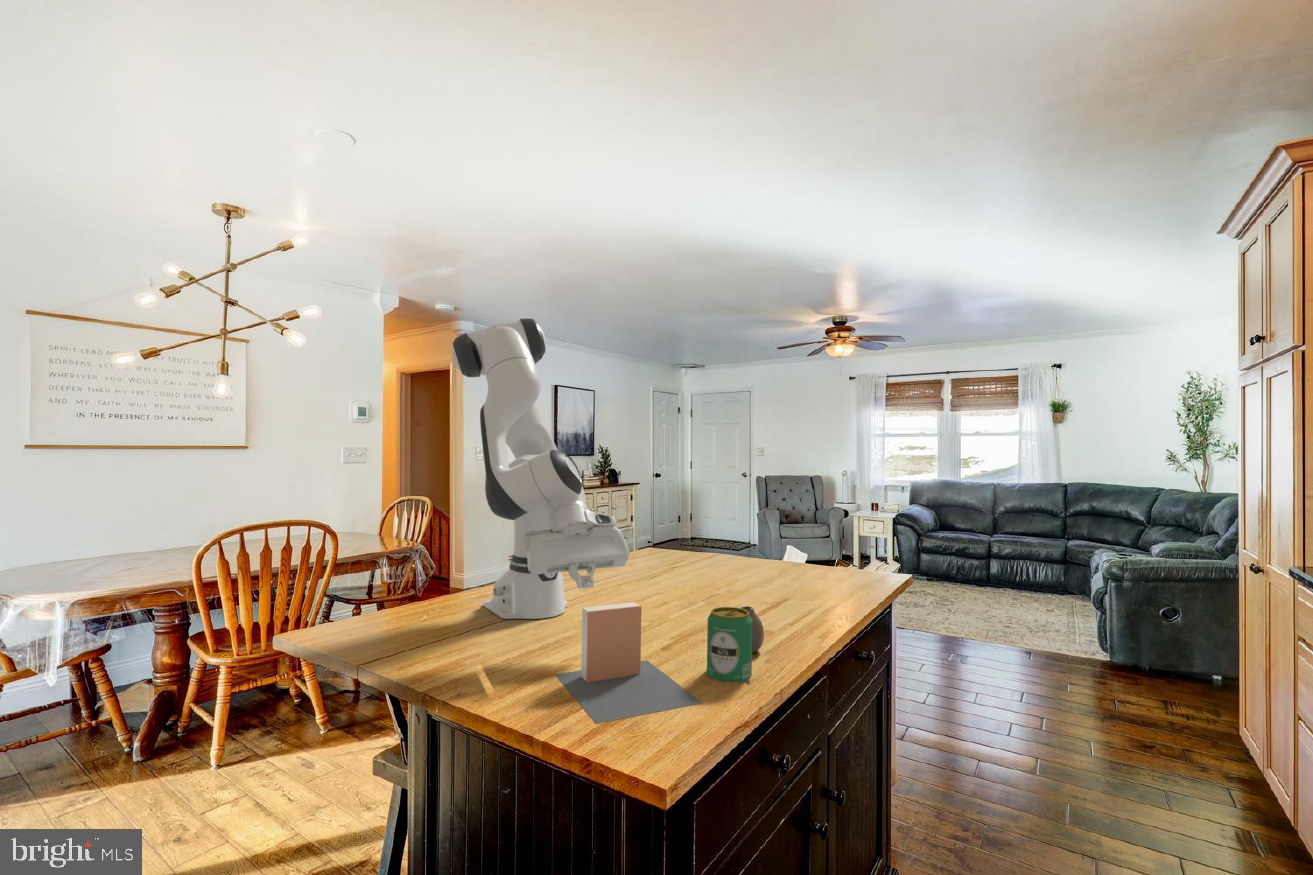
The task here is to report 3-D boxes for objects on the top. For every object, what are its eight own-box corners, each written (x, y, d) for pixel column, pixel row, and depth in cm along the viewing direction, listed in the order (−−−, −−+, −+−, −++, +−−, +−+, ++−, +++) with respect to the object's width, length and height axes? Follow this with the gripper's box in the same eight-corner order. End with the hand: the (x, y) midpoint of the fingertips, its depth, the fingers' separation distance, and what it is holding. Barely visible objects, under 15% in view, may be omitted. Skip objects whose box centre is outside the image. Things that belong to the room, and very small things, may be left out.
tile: (581, 676, 108) (582, 607, 108) (633, 668, 112) (634, 602, 112) (586, 682, 105) (588, 611, 105) (640, 673, 110) (641, 606, 110)
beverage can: (700, 682, 109) (701, 614, 109) (714, 668, 116) (715, 604, 116) (744, 690, 105) (745, 620, 106) (756, 675, 113) (757, 609, 113)
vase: (722, 650, 126) (723, 607, 126) (742, 642, 131) (742, 601, 131) (751, 658, 121) (751, 614, 121) (770, 650, 126) (770, 607, 127)
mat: (554, 679, 109) (554, 674, 109) (647, 665, 116) (647, 660, 116) (595, 730, 90) (595, 723, 90) (702, 709, 98) (703, 702, 98)
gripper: (523, 522, 121) (534, 582, 112) (621, 516, 129) (639, 571, 120) (519, 541, 125) (529, 601, 116) (615, 534, 133) (631, 589, 124)
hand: (586, 586), depth 118 cm, fingers closed
